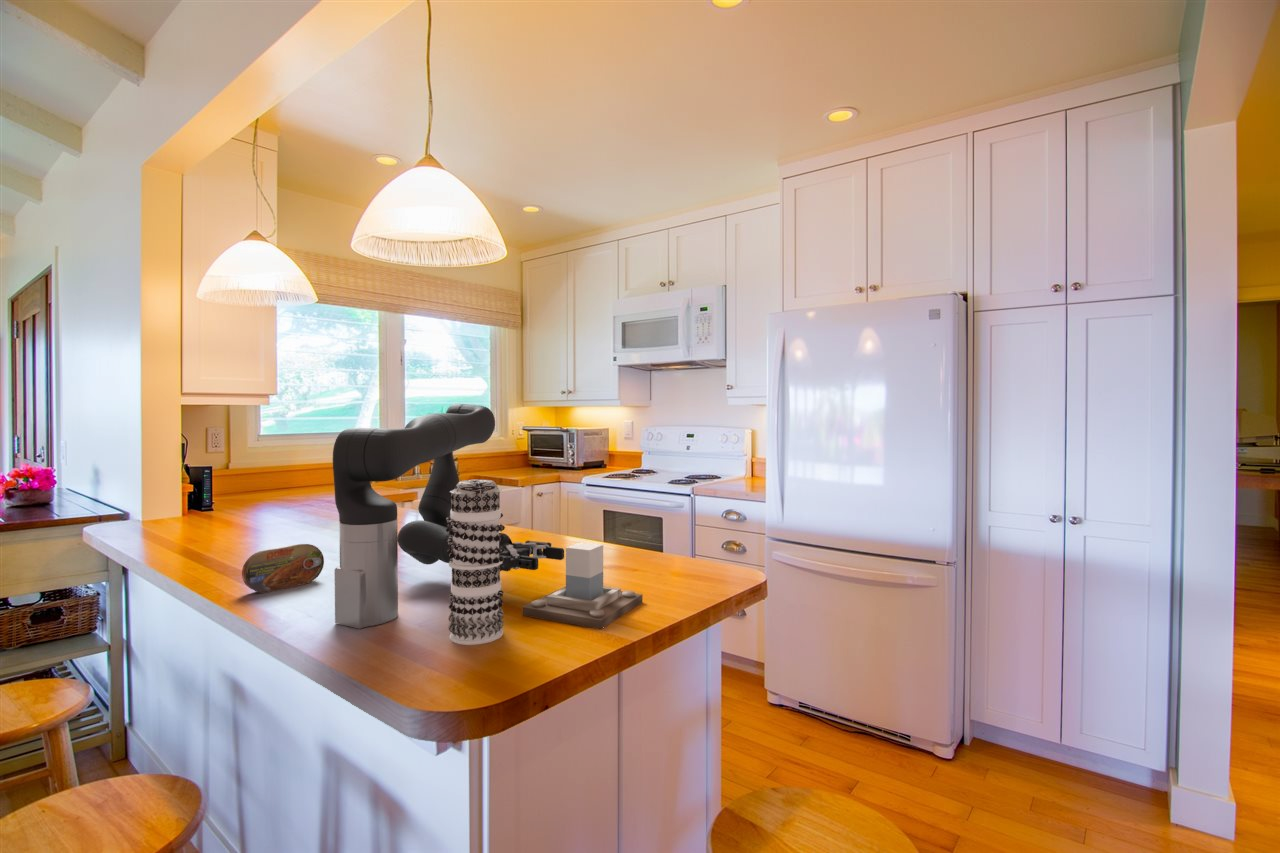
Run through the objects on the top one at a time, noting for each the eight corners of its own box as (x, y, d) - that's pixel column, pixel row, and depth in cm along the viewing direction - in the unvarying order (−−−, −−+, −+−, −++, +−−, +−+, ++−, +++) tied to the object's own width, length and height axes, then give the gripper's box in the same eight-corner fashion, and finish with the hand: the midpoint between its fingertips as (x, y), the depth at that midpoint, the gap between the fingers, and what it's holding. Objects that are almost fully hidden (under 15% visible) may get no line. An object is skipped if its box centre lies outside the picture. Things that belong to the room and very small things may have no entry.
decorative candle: (444, 629, 100) (443, 479, 100) (500, 622, 104) (500, 477, 103) (448, 649, 92) (447, 485, 91) (510, 640, 95) (509, 482, 95)
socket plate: (601, 629, 100) (601, 611, 100) (522, 615, 107) (522, 598, 107) (642, 602, 115) (642, 586, 115) (570, 591, 122) (570, 576, 122)
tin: (246, 597, 118) (245, 554, 117) (239, 594, 120) (239, 552, 119) (325, 580, 130) (324, 541, 129) (318, 577, 132) (317, 539, 131)
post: (589, 606, 108) (589, 550, 108) (565, 602, 110) (565, 547, 110) (603, 598, 112) (603, 544, 112) (580, 594, 114) (580, 542, 114)
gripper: (458, 538, 114) (527, 546, 107) (505, 525, 127) (571, 532, 120) (458, 577, 115) (528, 588, 107) (506, 561, 127) (571, 570, 120)
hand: (550, 559), depth 114 cm, fingers open, 8 cm apart
